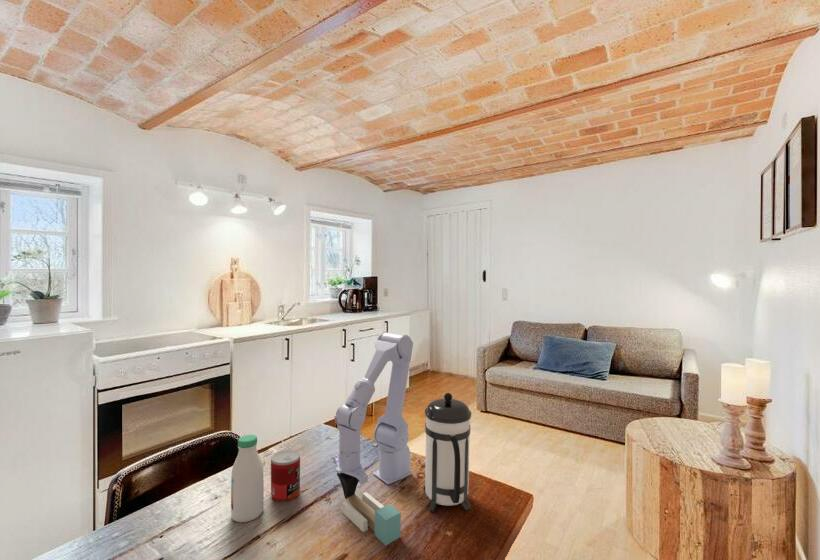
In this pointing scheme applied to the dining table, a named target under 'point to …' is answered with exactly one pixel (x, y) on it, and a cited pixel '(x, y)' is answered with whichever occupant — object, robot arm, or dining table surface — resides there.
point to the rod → (363, 509)
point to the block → (387, 524)
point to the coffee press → (447, 452)
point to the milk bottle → (247, 481)
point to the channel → (356, 516)
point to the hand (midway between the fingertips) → (349, 497)
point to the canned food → (285, 475)
